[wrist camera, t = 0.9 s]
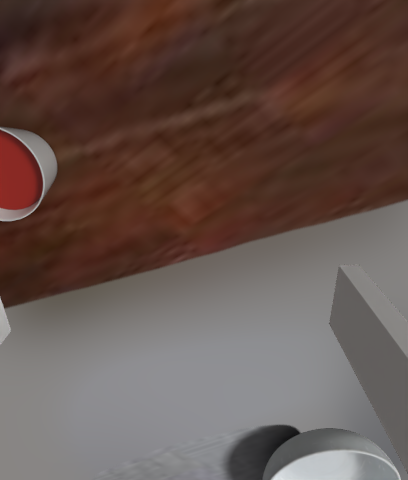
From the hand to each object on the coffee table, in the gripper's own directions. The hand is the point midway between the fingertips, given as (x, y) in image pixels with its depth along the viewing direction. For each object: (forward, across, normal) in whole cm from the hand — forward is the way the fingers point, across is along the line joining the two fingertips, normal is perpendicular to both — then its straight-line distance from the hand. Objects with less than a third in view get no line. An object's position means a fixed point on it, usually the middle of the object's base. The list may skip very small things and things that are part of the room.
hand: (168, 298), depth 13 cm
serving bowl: (+26, +20, -50) cm, 60 cm away
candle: (+27, -18, 0) cm, 32 cm away
